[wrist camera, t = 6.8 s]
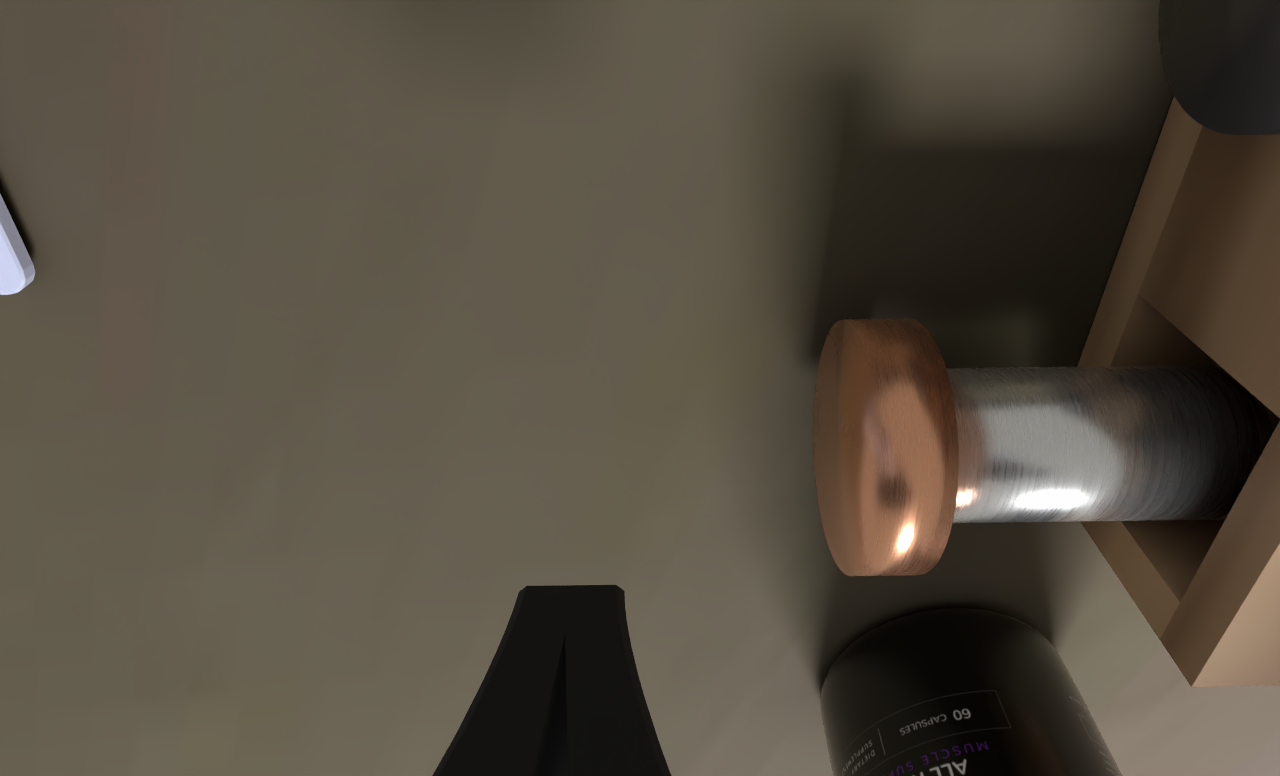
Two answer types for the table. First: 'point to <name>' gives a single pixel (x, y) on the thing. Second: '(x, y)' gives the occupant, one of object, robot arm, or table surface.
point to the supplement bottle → (958, 702)
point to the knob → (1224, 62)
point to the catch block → (1204, 335)
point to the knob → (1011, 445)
